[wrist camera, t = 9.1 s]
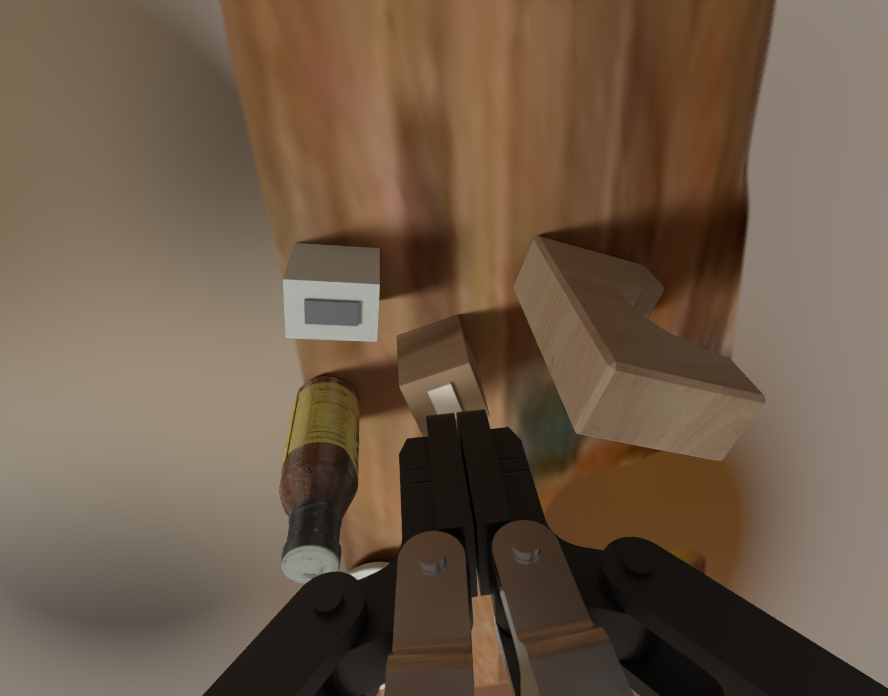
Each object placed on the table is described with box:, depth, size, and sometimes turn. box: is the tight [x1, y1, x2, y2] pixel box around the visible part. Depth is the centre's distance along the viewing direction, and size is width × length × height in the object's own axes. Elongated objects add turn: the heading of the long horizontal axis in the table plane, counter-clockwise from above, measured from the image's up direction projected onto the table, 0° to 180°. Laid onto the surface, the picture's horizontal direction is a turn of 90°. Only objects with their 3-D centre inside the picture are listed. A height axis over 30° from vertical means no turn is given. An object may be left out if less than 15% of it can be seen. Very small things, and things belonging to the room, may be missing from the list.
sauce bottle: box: [279, 376, 360, 583], centre depth 48 cm, size 7×6×20 cm
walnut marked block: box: [397, 315, 490, 437], centre depth 51 cm, size 6×6×8 cm
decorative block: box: [513, 236, 765, 460], centre depth 44 cm, size 11×6×20 cm, turn 72°
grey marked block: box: [283, 243, 380, 342], centre depth 47 cm, size 5×7×7 cm
